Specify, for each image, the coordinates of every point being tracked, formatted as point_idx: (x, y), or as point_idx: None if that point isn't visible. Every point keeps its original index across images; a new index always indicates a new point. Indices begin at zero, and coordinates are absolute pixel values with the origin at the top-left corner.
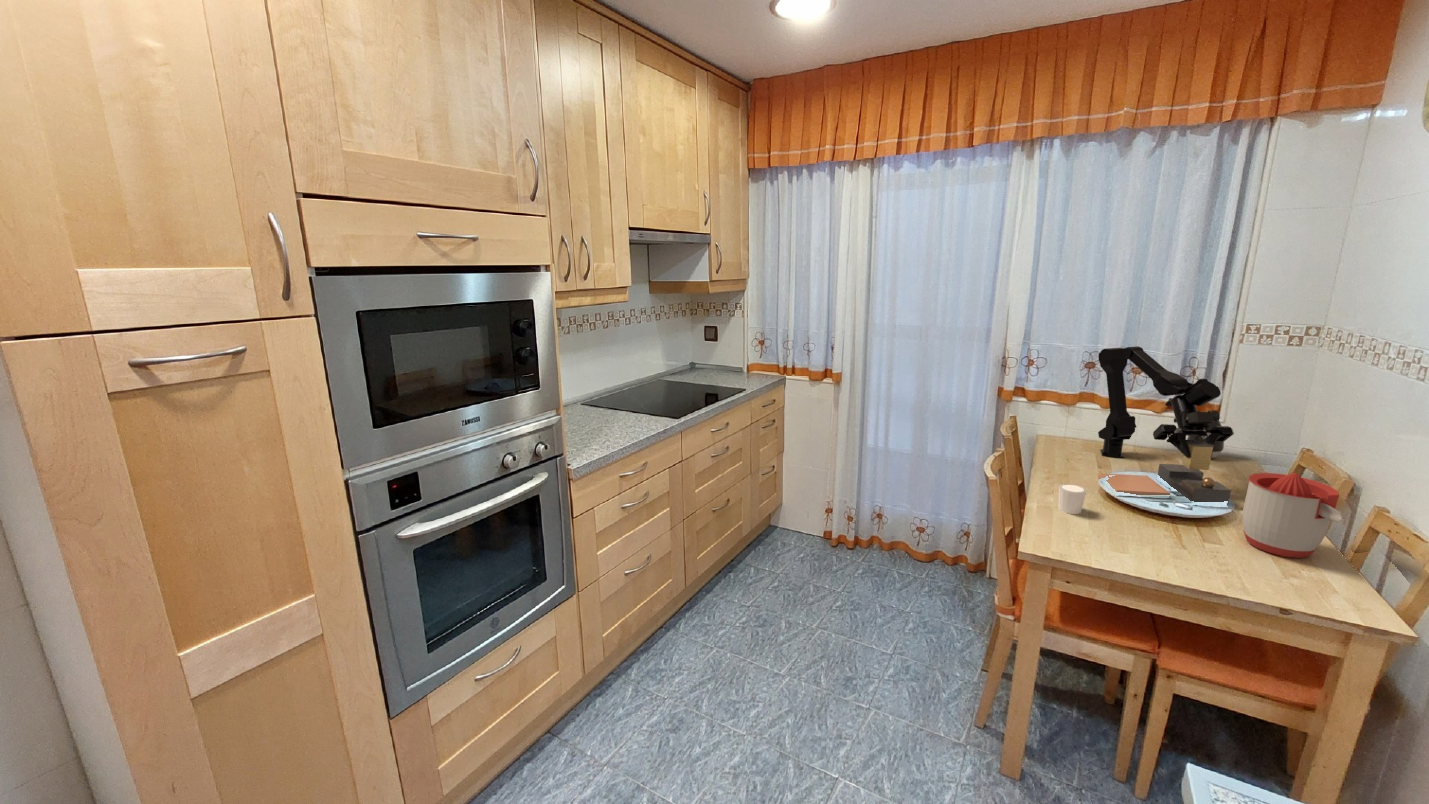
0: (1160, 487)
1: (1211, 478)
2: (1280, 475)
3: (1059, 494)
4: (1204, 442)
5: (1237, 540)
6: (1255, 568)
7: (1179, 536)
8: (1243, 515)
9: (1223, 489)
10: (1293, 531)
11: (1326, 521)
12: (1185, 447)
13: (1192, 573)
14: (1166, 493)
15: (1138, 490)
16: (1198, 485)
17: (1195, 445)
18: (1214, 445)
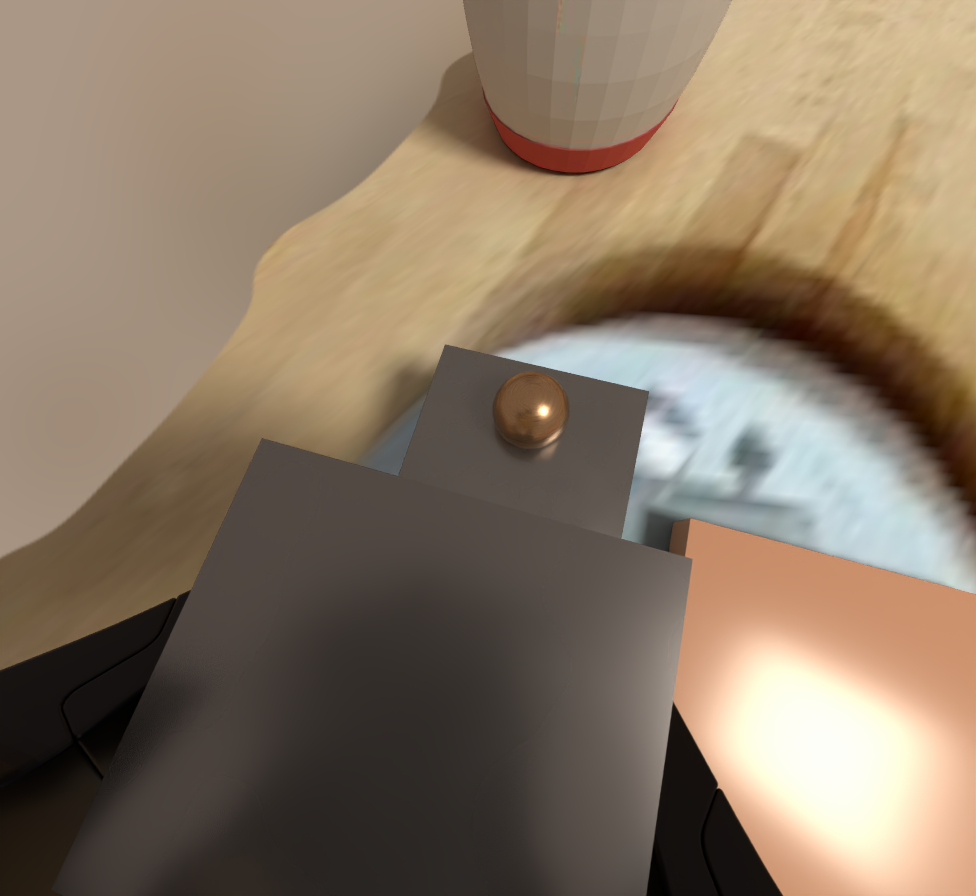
0: (693, 615)
1: (515, 392)
2: None
3: None
4: (286, 670)
5: (669, 156)
6: (751, 30)
7: (870, 187)
8: (720, 20)
9: (479, 358)
10: None
11: None
12: (683, 746)
13: (965, 11)
14: (709, 523)
15: (877, 584)
16: (584, 431)
17: (647, 547)
18: None
